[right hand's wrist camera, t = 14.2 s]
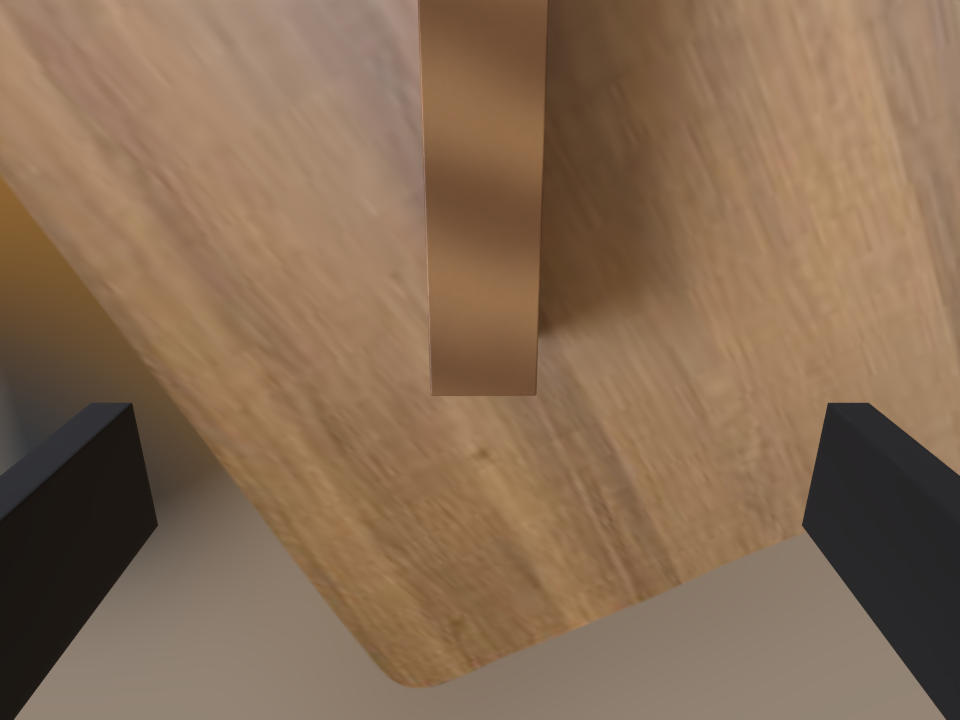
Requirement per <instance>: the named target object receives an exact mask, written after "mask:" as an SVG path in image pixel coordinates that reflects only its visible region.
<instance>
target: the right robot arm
mask: <svg viewBox="0 0 960 720" xmlns="http://www.w3.org/2000/svg"><path fill="white" fill-rule="evenodd" d="M157 526H158V523H157V518H156V514H155V509H154V504H153V500H152V495H151V490H150V485H149V481H148V476H147V471H146V467H145V462H144V457H143V453H142V448H141V443H140V438H139V434H138V429H137V424H136V419H135V415H134V410H133V405H132V403H91V404H89V405H88V406H87V407H86V408H84V409H83V410H82V411H81V412H79V413H78V414H77V415H76V416H74V417H73V418H72V419H71V420H70V421H68V422H67V423H66V424H64V425H63V426H62V427H61V428H59V429H58V430H57V431H56V432H54V433H53V434H52V435H51V436H49V437H48V438H47V439H46V440H44V441H43V442H42V443H41V444H40V445H38V446H37V447H36V448H35V449H33V450H32V451H31V452H29V453H28V454H27V455H26V456H25V457H23V458H22V459H21V460H20V461H18V462H17V463H16V464H15V465H13V466H12V467H11V468H10V469H8V470H7V471H6V472H5V473H3V474H2V475H1V476H0V720H14V719H15V717H16V716H17V715H18V713H19V712H20V711H21V709H22V708H23V706H24V705H25V704H26V702H27V701H28V700H29V698H30V697H31V696H32V694H33V693H34V692H35V690H36V689H37V688H38V686H39V685H40V684H41V682H42V681H43V680H44V678H45V677H46V676H47V674H48V673H49V671H50V670H51V669H52V667H53V666H54V665H55V663H56V662H57V661H58V659H59V658H60V657H61V655H62V654H63V653H64V651H65V650H66V648H67V647H68V646H69V645H70V643H71V642H72V640H73V639H74V638H75V636H76V635H77V634H78V632H79V631H80V630H81V628H82V627H83V626H84V624H85V623H86V622H87V620H88V619H89V618H90V616H91V615H92V614H93V612H94V611H95V610H96V608H97V607H98V605H99V604H100V603H101V601H102V600H103V599H104V597H105V596H106V595H107V593H108V592H109V591H110V589H111V588H112V587H113V585H114V584H115V583H116V581H117V580H118V579H119V577H120V576H121V574H122V573H123V572H124V570H125V569H126V568H127V566H128V565H129V564H130V562H131V561H132V560H133V558H134V557H135V556H136V554H137V553H138V552H139V550H140V549H141V548H142V546H143V545H144V543H145V542H146V541H147V539H148V538H149V537H150V535H151V534H152V533H153V531H154V530H155V529H156V527H157ZM802 526H803V527H804V529H805V530H806V531H807V533H808V534H809V535H810V537H811V538H812V539H813V541H814V542H815V543H816V545H817V546H818V547H819V549H820V550H821V552H822V553H823V554H824V556H825V557H826V558H827V560H828V561H829V562H830V564H831V565H832V566H833V568H834V569H835V570H836V572H837V573H838V574H839V576H840V577H841V578H842V580H843V581H844V583H845V584H846V585H847V587H848V588H849V589H850V591H851V592H852V593H853V595H854V596H855V597H856V599H857V600H858V601H859V603H860V604H861V605H862V607H863V608H864V610H865V611H866V612H867V614H868V615H869V616H870V618H871V619H872V620H873V622H874V623H875V624H876V626H877V627H878V628H879V630H880V631H881V632H882V634H883V635H884V636H885V638H886V639H887V640H888V642H889V643H890V645H891V646H892V647H893V649H894V650H895V651H896V653H897V654H898V655H899V657H900V658H901V659H902V661H903V662H904V663H905V665H906V666H907V667H908V669H909V670H910V671H911V673H912V674H913V676H914V677H915V678H916V680H917V681H918V682H919V684H920V685H921V686H922V688H923V689H924V690H925V692H926V693H927V694H928V696H929V697H930V698H931V700H932V701H933V702H934V704H935V705H936V707H937V708H938V709H939V710H940V712H941V713H942V715H943V716H944V717H945V719H946V720H960V476H959V475H958V474H957V473H955V472H954V471H953V470H952V469H950V468H949V467H948V466H947V465H945V464H944V463H943V462H942V461H940V460H939V459H938V458H937V457H935V456H934V455H933V454H932V453H931V452H929V451H928V450H927V449H926V448H924V447H923V446H922V445H921V444H919V443H918V442H917V441H916V440H914V439H913V438H912V437H911V436H909V435H908V434H907V433H906V432H904V431H903V430H902V429H901V428H899V427H898V426H897V425H896V424H894V423H893V422H892V421H891V420H889V419H888V418H887V417H886V416H884V415H883V414H882V413H881V412H879V411H878V410H877V409H876V408H874V407H873V406H872V405H871V404H869V403H828V405H827V410H826V415H825V419H824V424H823V429H822V434H821V438H820V443H819V448H818V452H817V457H816V462H815V467H814V471H813V476H812V481H811V485H810V490H809V495H808V499H807V504H806V509H805V514H804V518H803V523H802Z"/></svg>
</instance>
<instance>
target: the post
mask: <svg viewBox="0 0 960 720" xmlns="http://www.w3.org/2000/svg"><path fill="white" fill-rule="evenodd" d="M548 9H549V0H418V17H419V48H420V79H421V110H422V141H423V172H424V203H425V234H426V265H427V296H428V327H429V358H430V389H431V396H535V395H536V386H537V355H538V323H539V292H540V260H541V229H542V197H543V166H544V135H545V103H546V72H547V40H548Z"/></svg>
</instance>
